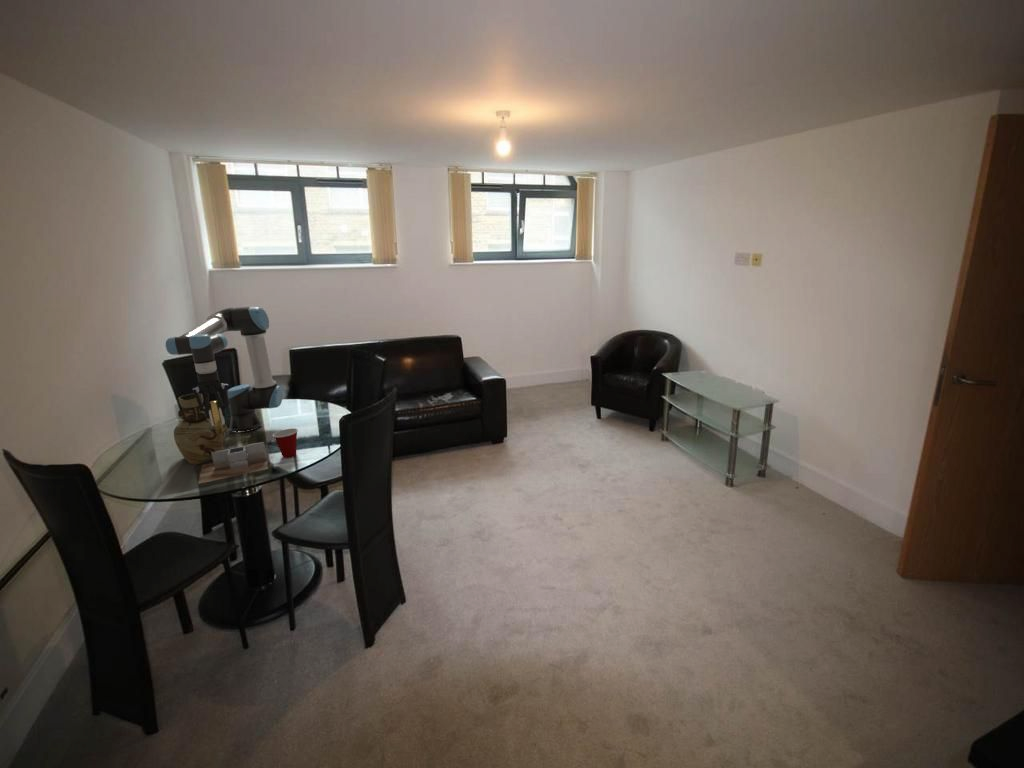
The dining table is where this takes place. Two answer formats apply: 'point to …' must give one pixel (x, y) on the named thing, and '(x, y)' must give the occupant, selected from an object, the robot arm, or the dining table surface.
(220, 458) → the flanged square frame
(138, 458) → the dining table surface
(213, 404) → the pin
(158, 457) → the dining table surface
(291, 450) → the plastic cup
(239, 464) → the fixed leaf
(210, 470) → the board
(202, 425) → the ceramic vessel
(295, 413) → the dining table surface
